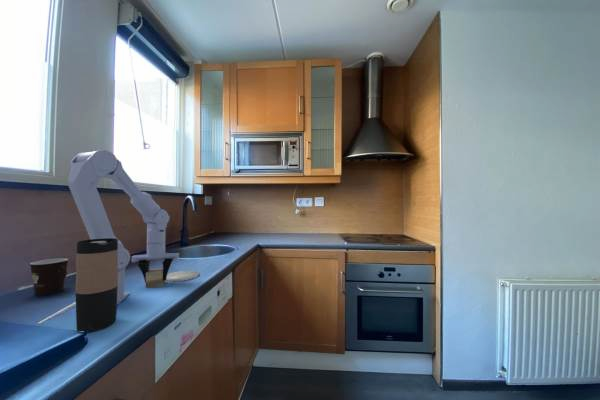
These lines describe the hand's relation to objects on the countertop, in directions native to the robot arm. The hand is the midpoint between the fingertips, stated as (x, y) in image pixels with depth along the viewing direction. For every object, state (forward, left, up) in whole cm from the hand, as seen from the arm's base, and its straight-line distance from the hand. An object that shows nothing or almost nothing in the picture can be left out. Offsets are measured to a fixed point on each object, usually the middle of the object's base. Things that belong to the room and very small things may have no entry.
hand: (155, 280), depth 86 cm
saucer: (+7, -7, -1) cm, 11 cm away
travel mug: (-29, +6, -2) cm, 29 cm away
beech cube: (0, 0, -1) cm, 1 cm away
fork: (-14, +17, -2) cm, 22 cm away
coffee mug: (+1, +31, -2) cm, 31 cm away
